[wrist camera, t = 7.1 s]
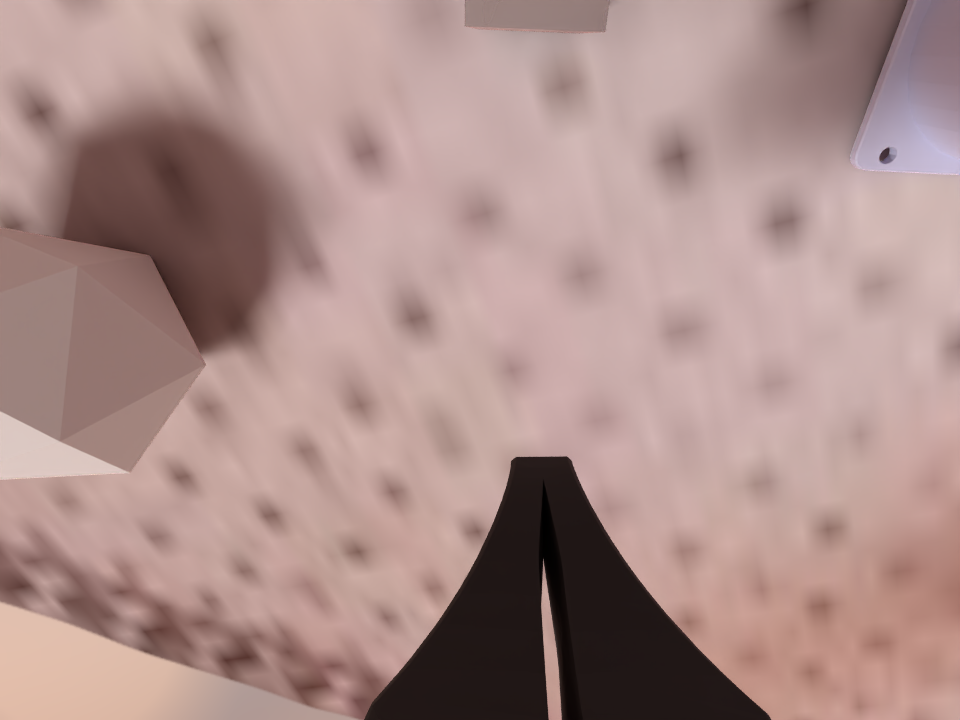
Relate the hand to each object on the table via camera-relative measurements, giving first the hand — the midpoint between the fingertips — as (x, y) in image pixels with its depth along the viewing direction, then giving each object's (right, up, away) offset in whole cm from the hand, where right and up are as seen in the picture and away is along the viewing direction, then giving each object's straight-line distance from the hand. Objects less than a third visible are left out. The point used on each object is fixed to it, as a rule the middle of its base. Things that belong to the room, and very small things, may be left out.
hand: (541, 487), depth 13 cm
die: (-16, +5, +10) cm, 20 cm away
